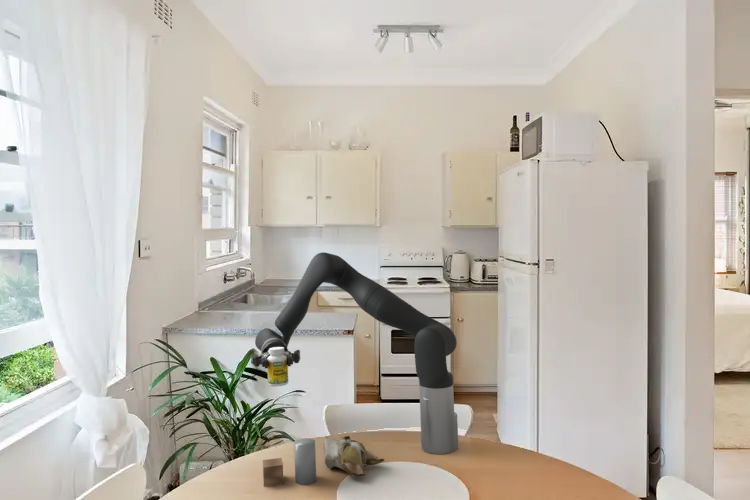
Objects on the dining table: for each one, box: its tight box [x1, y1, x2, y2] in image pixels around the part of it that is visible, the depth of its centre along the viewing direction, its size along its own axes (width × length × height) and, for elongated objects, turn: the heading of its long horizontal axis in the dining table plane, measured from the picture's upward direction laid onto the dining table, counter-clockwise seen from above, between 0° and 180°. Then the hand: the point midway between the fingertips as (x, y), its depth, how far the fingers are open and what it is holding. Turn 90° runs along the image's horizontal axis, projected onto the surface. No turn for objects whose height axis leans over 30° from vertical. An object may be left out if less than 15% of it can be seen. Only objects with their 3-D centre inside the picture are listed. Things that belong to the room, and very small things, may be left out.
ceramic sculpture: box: [323, 435, 385, 478], centre depth 123 cm, size 11×9×15 cm
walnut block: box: [262, 457, 284, 487], centre depth 118 cm, size 4×4×4 cm
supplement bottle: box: [266, 347, 289, 387], centre depth 132 cm, size 5×5×10 cm
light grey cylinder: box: [293, 437, 317, 486], centre depth 118 cm, size 5×5×9 cm
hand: (278, 363), depth 129 cm, fingers closed on supplement bottle, 5 cm apart
